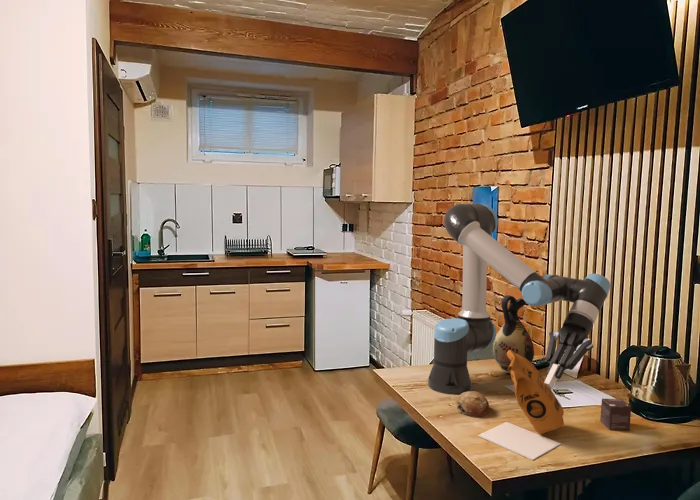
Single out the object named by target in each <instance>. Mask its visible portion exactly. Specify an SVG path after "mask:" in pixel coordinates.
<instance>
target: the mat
mask: <svg viewBox="0 0 700 500" xmlns="http://www.w3.org/2000/svg"><path fill="white" fill-rule="evenodd" d="M477 437H479V438H481V439H484V440H486V441H488V442H490V443H492V444H494V445H497V446H499V447H501V448H503V449H506V450H508V451H511V452H513V453H515V454H517V455H519V456H522V457H524V458H527V459H528V460H530V461H534V460H537V459H538V458H540V457H541V456H543V455H545V454H547V453H548V452H551V451H552V450H554V449H555V448H557V447H559V446H560V445H561V442H558V441H557V440H553V439H550V438H548V437H545V436H543V435H542V434H539V433H537V432H533V431H530V430H528V429H527V428H523V427H521V426H518V425H515V424H513V423H511V422H508V421H505V422H503V423H500V424H499V425H497V426H495V427H493V428H490V429H488V430H486V431H484V432H482V433H479V434H478V435H477Z"/></svg>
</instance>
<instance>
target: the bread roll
mask: <svg viewBox="0 0 700 500" xmlns="http://www.w3.org/2000/svg"><path fill="white" fill-rule="evenodd" d="M456 409H457V411H458V413H460V414H464V415H465V416H469V417H473V418H475V417H476V418H480V417H485V416H486V415H487V414H488V413H489V409H490V404H489V401H488V399H487V397H486V396H484V395H483V394H482V393H480V392H479V391H475V390H474V391H473V390H470V391H468V392H463V393H459V395H458V397H457V399H456Z"/></svg>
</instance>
